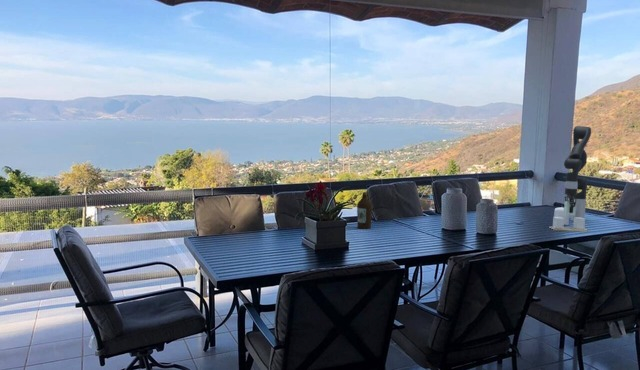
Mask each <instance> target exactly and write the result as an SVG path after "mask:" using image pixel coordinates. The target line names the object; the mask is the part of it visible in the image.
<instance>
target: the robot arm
mask: <svg viewBox="0 0 640 370" xmlns="http://www.w3.org/2000/svg"><path fill="white" fill-rule="evenodd" d="M591 135H592V128H591V127H590V126H582V125H579V126H578V125H577V126H575V127H574V128H573V132H572V136H573V137H572V139H573V146H572V148H571V150H570V153H569V155H568V156H567V157H566V158H565V160H564V163H563V166H564V168H565V169H567V170H572V171H571V172H570V171H569V172H567V173H566V175H565V176H566V178H565V184H564V194H565V195H566V196H564V202H565V201H567V202H569V204H570V209H569V213H573V208H574V207H575V205H576V210H575V215H570V221H572V222H574V217H582V218H584V219H586V218H585V217H586V216H585V215H586V205H587V203H586V202H587V201H586V200H587V188H588V178H587V177H580V176H579V173H580V171H582V169H584V167H585V166H586V164H587V159H588V154H587V152H586V150H585V147H586V146H587V144H588V142H589V140H590V138H591ZM578 190H581V191H579V192H578ZM570 202H572V203H570Z"/></svg>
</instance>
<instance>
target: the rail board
mask: <svg viewBox="0 0 640 370" xmlns="http://www.w3.org/2000/svg"><path fill="white" fill-rule="evenodd" d="M551 227H552V226H549V229H550V228H551ZM552 229H553V228H551V229H550V230H552ZM554 230H555V232H583V231H586V232H589V229H587V228H586V229H553V230H552V231H554Z"/></svg>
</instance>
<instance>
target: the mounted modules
mask: <svg viewBox="0 0 640 370" xmlns="http://www.w3.org/2000/svg"><path fill="white" fill-rule="evenodd" d="M585 226H586V218H582V217H574V221H573V225H572V227H574V228H576V229H585V228H586V227H585ZM552 227H554V228H564V227H565V225H564V218H562V217H554V216H553V218H552Z"/></svg>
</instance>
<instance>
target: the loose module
mask: <svg viewBox="0 0 640 370" xmlns="http://www.w3.org/2000/svg"><path fill="white" fill-rule="evenodd" d="M570 203H572V202H570ZM563 208H564V214H565V215H569V216H571V215H575V210H576V205H575V207H574V208H573V213H569V209H570V204H569V202H567V201H565V200H564V207H563Z"/></svg>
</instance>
